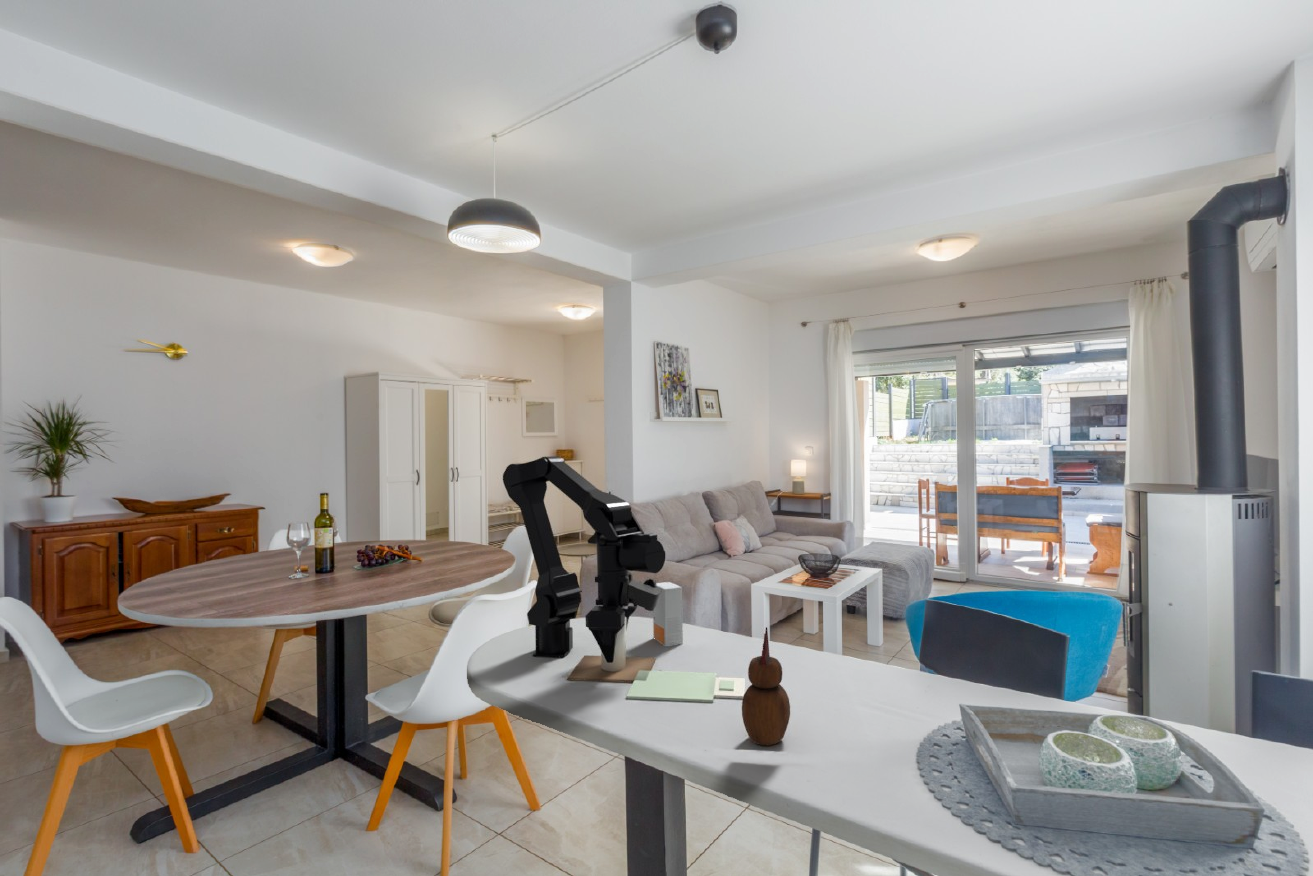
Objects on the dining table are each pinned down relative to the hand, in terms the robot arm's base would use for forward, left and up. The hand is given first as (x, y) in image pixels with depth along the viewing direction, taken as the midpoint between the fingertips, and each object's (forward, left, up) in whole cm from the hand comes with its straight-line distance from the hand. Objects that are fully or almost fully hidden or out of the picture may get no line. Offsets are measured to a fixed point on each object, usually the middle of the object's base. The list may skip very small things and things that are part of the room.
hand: (615, 654), depth 116 cm
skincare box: (+7, +17, -3) cm, 19 cm away
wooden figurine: (+26, -25, -3) cm, 36 cm away
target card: (+20, -7, -3) cm, 22 cm away
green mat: (+11, -7, -3) cm, 14 cm away
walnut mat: (-1, 0, -3) cm, 3 cm away
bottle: (-1, 0, -2) cm, 2 cm away
